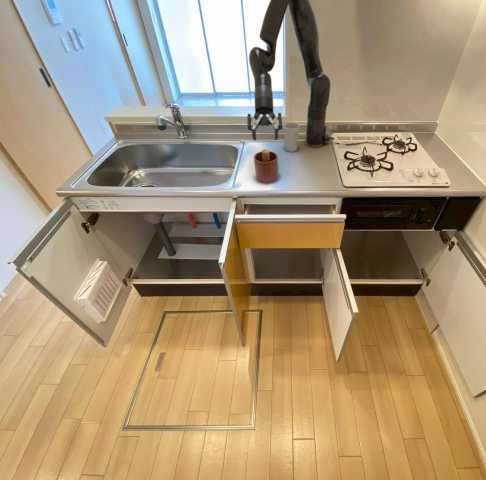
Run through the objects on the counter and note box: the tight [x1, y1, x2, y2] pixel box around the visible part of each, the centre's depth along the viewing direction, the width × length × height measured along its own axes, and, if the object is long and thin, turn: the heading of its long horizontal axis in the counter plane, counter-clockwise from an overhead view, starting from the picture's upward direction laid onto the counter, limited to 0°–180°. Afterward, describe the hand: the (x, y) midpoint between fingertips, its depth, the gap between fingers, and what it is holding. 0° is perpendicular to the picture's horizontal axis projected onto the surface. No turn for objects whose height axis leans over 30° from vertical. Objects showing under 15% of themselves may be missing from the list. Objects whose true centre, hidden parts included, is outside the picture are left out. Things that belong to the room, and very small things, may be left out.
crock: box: [253, 150, 280, 184], centre depth 117 cm, size 10×10×10 cm
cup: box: [283, 121, 301, 153], centre depth 134 cm, size 8×8×12 cm
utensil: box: [261, 148, 270, 162], centre depth 115 cm, size 3×3×12 cm
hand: (265, 139), depth 109 cm, fingers open, 8 cm apart
